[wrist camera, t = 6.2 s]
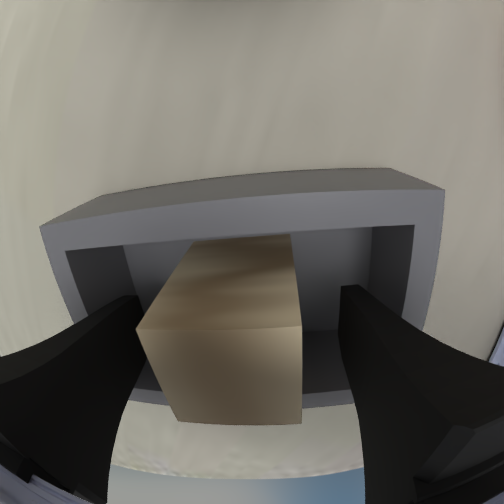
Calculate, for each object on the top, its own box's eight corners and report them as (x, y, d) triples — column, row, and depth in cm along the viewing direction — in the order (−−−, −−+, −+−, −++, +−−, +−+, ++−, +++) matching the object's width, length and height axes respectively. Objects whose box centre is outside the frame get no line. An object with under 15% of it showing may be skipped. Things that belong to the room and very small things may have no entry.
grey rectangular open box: (389, 167, 11) (445, 189, 7) (376, 332, 14) (401, 394, 10) (101, 195, 12) (39, 226, 8) (143, 340, 15) (113, 397, 11)
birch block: (290, 233, 12) (301, 325, 6) (294, 315, 13) (301, 423, 8) (193, 241, 12) (135, 328, 7) (210, 319, 14) (177, 421, 8)
